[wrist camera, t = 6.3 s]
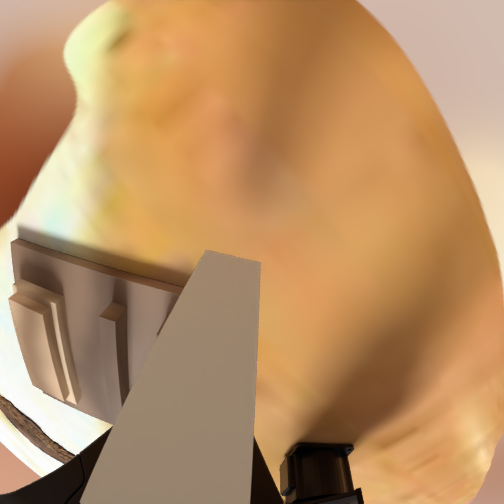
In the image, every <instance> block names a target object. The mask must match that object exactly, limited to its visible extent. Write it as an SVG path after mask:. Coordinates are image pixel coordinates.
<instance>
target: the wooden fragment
mask: <svg viewBox="0 0 504 504" xmlns="http://www.w3.org/2000/svg"><path fill="white" fill-rule="evenodd" d="M0 410H1V411H2V412H3V413H4V414H5V416H6V417H7V418H8V419H9V421H10V422H11V423H12V424H13V425H14V426H15V427H16V428H17V429H18V430H19V431H20V432H21V433H22V434H23V435H24V436H25V437H26V438H27V439H29V440H30V442H31V443H33V444H34V445H35V446H36V447H38V448H40V449H41V450H42V451H43V452H44V453H46V454H48V455H49V456H51V457H53V458H55V459H56V460H58V461H60V462H62V463H63V464H65V463H66V462H68V461H69V460H71V459H72V458H73V457H74V456H73V455H72V454H70V453H69V452H67V451H65V450H64V449H63V448H62V447H61V446H59V445H58V444H57V443H55V442H53V441H52V440H51V439H50V438H49V437H47V436H46V435H45V434H44V433H43V431H42V430H40V429H39V428H38V427H37V426H36V425H35V424H34V423H33V422H32V421H31V420H29V419H28V418H26V417H25V416H24V415H22V414H21V413H20V412H19V411H18V410H17V409H16V408H15V407H14V406H13V404H12V403H11V402H10V401H8V400H7V399H5V398H4V397H2V396H1V395H0Z"/></svg>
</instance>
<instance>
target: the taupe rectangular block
mask: <svg viewBox="0 0 504 504" xmlns="http://www.w3.org/2000/svg"><path fill="white" fill-rule="evenodd" d="M260 271H261V262H257V261H253V260H248V259H244V258H240V257H235V256H231V255H227V254H222V253H218V252H214V251H210V250H205V252H204V254H203V255H202V257H201V259H200V261H199V262H198V264H197V266H196V268H195V269H194V271H193V273H192V275H191V277H190V278H189V280H188V282H187V284H186V286H185V287H184V289H183V291H182V293H181V295H180V296H179V298H178V300H177V302H176V304H175V306H174V307H173V309H172V311H171V313H170V315H169V317H168V319H167V320H166V322H165V324H164V326H163V328H162V330H161V332H160V334H159V336H158V337H157V339H156V341H155V343H154V345H153V347H152V349H151V351H150V353H149V355H148V357H147V359H146V361H145V363H144V365H143V366H142V368H141V370H140V372H139V374H138V376H137V378H136V380H135V382H134V384H133V386H132V388H131V390H130V392H129V394H128V396H127V399H126V401H125V403H124V405H123V407H122V409H121V411H120V413H119V415H118V417H117V419H116V421H115V423H114V426H113V428H112V430H111V432H110V434H109V436H108V438H107V441H106V443H105V445H104V447H103V449H102V452H101V454H100V456H99V458H98V460H97V463H96V465H95V467H94V470H93V472H92V474H91V476H90V479H89V481H88V483H87V486H86V488H85V490H84V493H83V495H82V498H81V500H80V503H81V504H250V495H251V477H252V458H253V438H254V417H255V396H256V373H257V350H258V325H259V298H260Z"/></svg>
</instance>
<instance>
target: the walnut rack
mask: <svg viewBox="0 0 504 504" xmlns="http://www.w3.org/2000/svg"><path fill="white" fill-rule="evenodd" d="M11 253H12V263H13V272H14V279H15V283H16V282H17V281H18V280H20V279H23V280H25V281H28V282H30V283H32V284H35V285H37V286H40V287H42V288H44V289H47V290H49V291H52V292H54V293H57V294H59V295H62V296H64V301H65V310H66V318H67V326H68V333H69V339H70V345H71V351H72V356H73V361H74V366H75V371H76V376H77V380H78V384H79V388H80V392H81V396H82V397H81V399H80V401H79V402H78V404H77V405H76V404H74V403H72V402H69V401H67V400H65V402H64V401H62V400H60V399H58V398H56V397H54V396H52V395H50V394H48V393H46V392H44V391H43V393H45V394H47V395H49V396H51V397H53V398H54V399H56V400H58V401H60V402H62V403H64V404H66V405H69V406H71V407H73V408H75V409H77V410H79V411H81V412H84V413H86V414H88V415H90V416H93V417H95V418H98V419H100V420H102V421H105V422H108V423H110V424H113V426H114V423H115V421H116V419H117V417H118V415H119V413H120V411H121V409H122V407H123V405H124V403H125V401H126V399H127V396H128V394H129V392H130V390H131V388H132V386H133V384H134V382H135V380H136V378H137V376H138V374H139V372H140V370H141V368H142V366H143V365H144V363H145V361H146V359H147V357H148V355H149V353H150V351H151V349H152V347H153V345H154V343H155V341H156V339H157V337H158V336H159V334H160V332H161V330H162V328H163V326H164V324H165V322H166V320H167V319H168V317H169V315H170V313H171V311H172V309H173V307H174V306H175V304H176V302H177V300H178V298H179V296H180V295H181V293H182V291H183V289H184V287H180V286H176V285H172V284H168V283H164V282H160V281H157V280H153V279H149V278H145V277H142V276H138V275H135V274H131V273H127V272H124V271H120V270H117V269H113V268H110V267H106V266H103V265H100V264H96V263H93V262H90V261H86V260H83V259H80V258H76V257H73V256H70V255H67V254H64V253H61V252H57V251H54V250H51V249H48V248H45V247H42V246H39V245H36V244H33V243H30V242H27V241H24V240H21V239H19V238H18V239H16V240H14V241H12V242H11Z"/></svg>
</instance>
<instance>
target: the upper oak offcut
mask: <svg viewBox="0 0 504 504" xmlns="http://www.w3.org/2000/svg"><path fill="white" fill-rule="evenodd" d="M8 299H9V304H10V309H11V314H12V318H13V322H14V327H15V330H16V334H17V338H18V342H19V345H20V349H21V352H22V355H23V358H24V362H25V365H26V368H27V371H28V373H29V376H30V379H31V382H32V384H33V386H35V387H37V388H39V389H41V390H42V391H44V392H46V393H48V394H50V395H52V396H54V397H56V398H58V399H60V400H62V401H64V402H65V400H66V399H67V397H68V396H69V394H70V393H69V389H68V386H67V382H66V378H65V374H64V370H63V366H62V362H61V358H60V353H59V348H58V343H57V338H56V333H55V327H54V321H53V315H52V308H51V307H50V306H47V305H45V304H43V303H40V302H38V301H36V300H34V299H31V298H29V297H27V296H25V295H23V294H21V293H19V292H16V293H15V294H14V295H12V296H11V297H10V298H8Z"/></svg>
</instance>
